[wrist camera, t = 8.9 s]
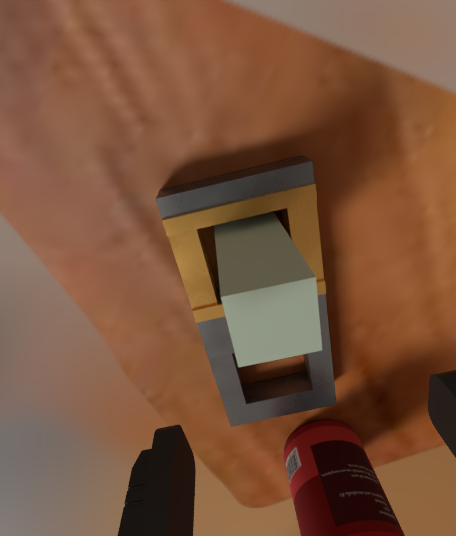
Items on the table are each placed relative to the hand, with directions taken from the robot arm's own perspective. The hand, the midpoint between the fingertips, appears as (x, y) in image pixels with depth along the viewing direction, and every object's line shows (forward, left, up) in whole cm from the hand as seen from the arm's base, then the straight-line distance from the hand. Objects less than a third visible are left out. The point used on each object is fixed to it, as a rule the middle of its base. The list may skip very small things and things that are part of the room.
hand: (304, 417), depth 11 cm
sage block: (0, 0, -14) cm, 14 cm away
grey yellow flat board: (0, +5, -14) cm, 14 cm away
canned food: (-3, +23, -14) cm, 27 cm away
